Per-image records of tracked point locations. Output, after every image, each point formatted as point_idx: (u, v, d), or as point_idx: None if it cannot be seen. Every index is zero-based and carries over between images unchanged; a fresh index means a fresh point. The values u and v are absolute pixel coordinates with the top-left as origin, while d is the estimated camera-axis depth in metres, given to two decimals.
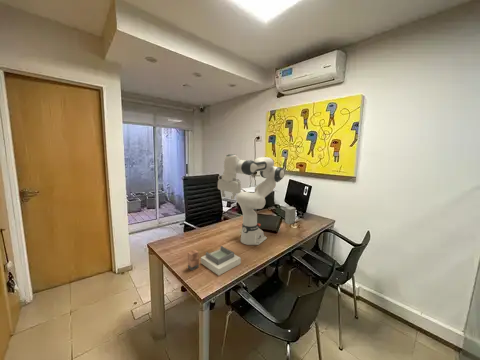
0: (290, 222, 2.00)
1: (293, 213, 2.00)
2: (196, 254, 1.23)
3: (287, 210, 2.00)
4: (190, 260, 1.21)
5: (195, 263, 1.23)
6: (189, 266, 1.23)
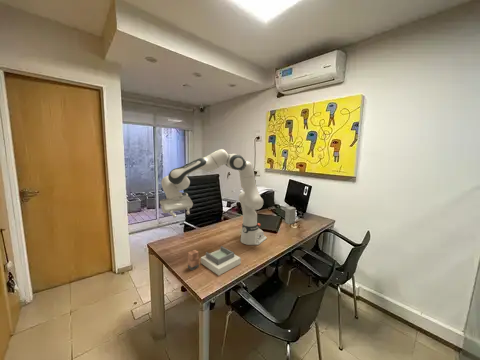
0: (290, 222, 2.00)
1: (293, 213, 2.00)
2: (196, 254, 1.23)
3: (287, 210, 2.00)
4: (190, 260, 1.21)
5: (195, 263, 1.23)
6: (189, 266, 1.23)
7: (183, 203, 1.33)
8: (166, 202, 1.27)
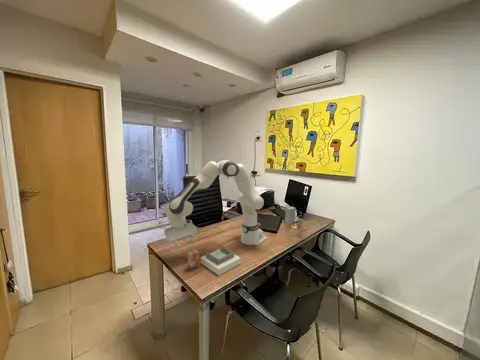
0: (290, 222, 2.00)
1: (293, 213, 2.00)
2: (196, 254, 1.23)
3: (287, 210, 2.00)
4: (190, 260, 1.21)
5: (195, 263, 1.23)
6: (189, 266, 1.23)
7: (187, 231, 1.33)
8: (170, 232, 1.26)
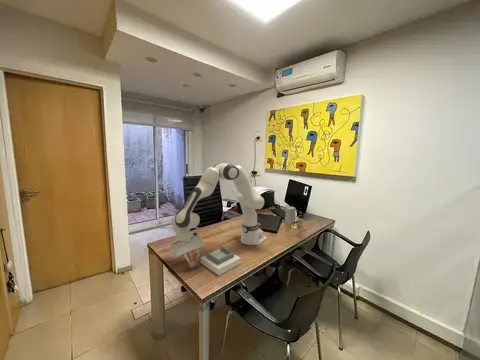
0: (290, 222, 2.00)
1: (293, 213, 2.00)
2: (196, 254, 1.23)
3: (287, 210, 2.00)
4: (190, 260, 1.21)
5: (195, 263, 1.23)
6: (189, 266, 1.23)
7: (194, 244, 1.28)
8: (177, 246, 1.21)
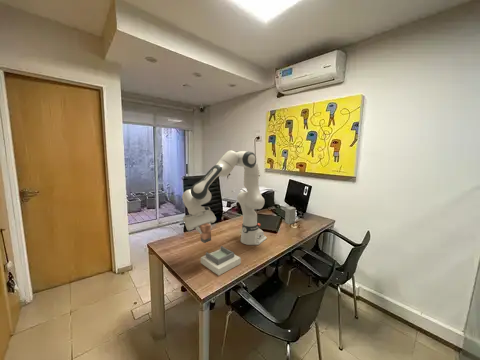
0: (290, 222, 2.00)
1: (293, 213, 2.00)
2: (208, 227, 1.23)
3: (287, 210, 2.00)
4: (203, 233, 1.22)
5: (208, 236, 1.23)
6: (202, 239, 1.23)
7: (206, 218, 1.28)
8: (190, 219, 1.21)
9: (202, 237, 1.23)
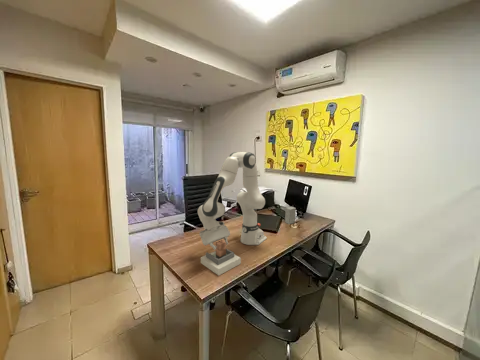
0: (290, 222, 2.00)
1: (293, 213, 2.00)
2: (224, 244, 1.27)
3: (287, 210, 2.00)
4: (218, 250, 1.26)
5: (223, 253, 1.27)
6: (217, 256, 1.27)
7: (221, 232, 1.32)
8: (206, 234, 1.25)
9: (217, 254, 1.27)
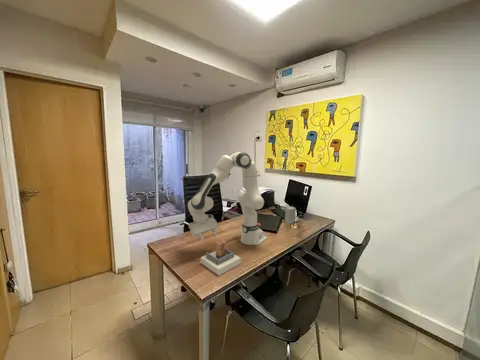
0: (290, 222, 2.00)
1: (293, 213, 2.00)
2: (224, 244, 1.27)
3: (287, 210, 2.00)
4: (218, 250, 1.26)
5: (223, 253, 1.27)
6: (217, 256, 1.27)
7: (209, 225, 1.40)
8: (194, 225, 1.34)
9: (217, 254, 1.27)
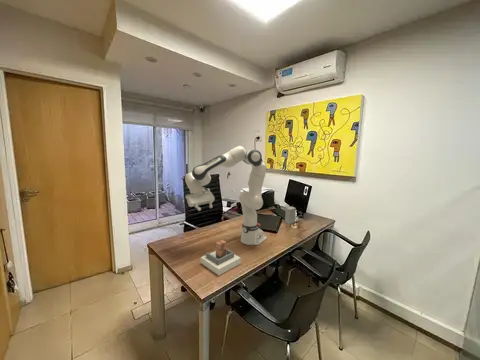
0: (290, 222, 2.00)
1: (293, 213, 2.00)
2: (224, 244, 1.27)
3: (287, 210, 2.00)
4: (218, 250, 1.26)
5: (223, 253, 1.27)
6: (217, 256, 1.27)
7: (206, 197, 1.44)
8: (191, 196, 1.37)
9: (217, 254, 1.27)
